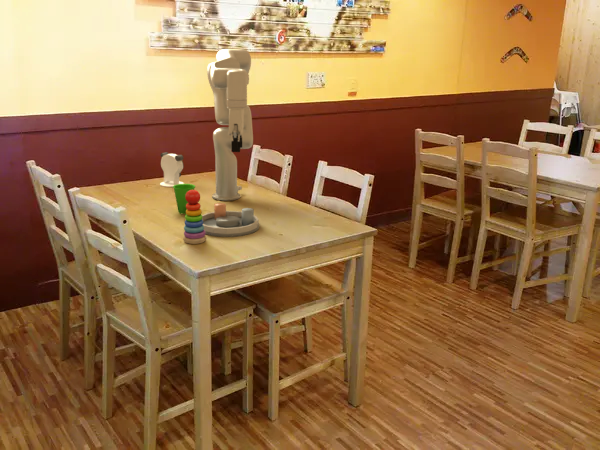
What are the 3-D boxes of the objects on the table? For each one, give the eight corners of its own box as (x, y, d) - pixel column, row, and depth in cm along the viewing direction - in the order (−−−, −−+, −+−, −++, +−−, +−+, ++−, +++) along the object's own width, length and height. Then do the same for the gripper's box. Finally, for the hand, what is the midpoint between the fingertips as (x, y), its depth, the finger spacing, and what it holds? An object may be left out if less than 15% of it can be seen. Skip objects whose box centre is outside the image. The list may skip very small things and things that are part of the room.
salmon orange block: (219, 216, 232) (218, 202, 230) (228, 218, 230) (228, 203, 228) (212, 219, 228) (211, 204, 227) (221, 221, 226) (221, 206, 225)
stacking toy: (184, 237, 210) (182, 186, 204) (206, 237, 211) (205, 187, 205) (182, 244, 203) (180, 192, 197) (205, 244, 203) (204, 192, 198)
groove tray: (221, 214, 239) (221, 207, 238) (271, 224, 228) (271, 217, 227) (183, 229, 219) (182, 221, 218) (235, 241, 208) (235, 233, 207)
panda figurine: (189, 183, 287) (188, 153, 282) (173, 188, 278) (172, 157, 273) (171, 180, 293) (170, 150, 288) (155, 184, 283) (153, 154, 279)
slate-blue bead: (242, 222, 225) (242, 207, 224) (253, 223, 226) (254, 208, 224) (241, 226, 221) (241, 211, 219) (253, 226, 221) (253, 211, 219)
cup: (191, 216, 235) (190, 189, 232) (170, 214, 237) (169, 187, 234) (199, 210, 244) (198, 184, 240) (178, 208, 245) (178, 182, 242)
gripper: (229, 101, 226) (229, 145, 232) (224, 106, 210) (224, 153, 215) (248, 102, 227) (248, 146, 232) (245, 107, 210) (245, 154, 215)
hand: (237, 149), depth 223 cm, fingers open, 9 cm apart
